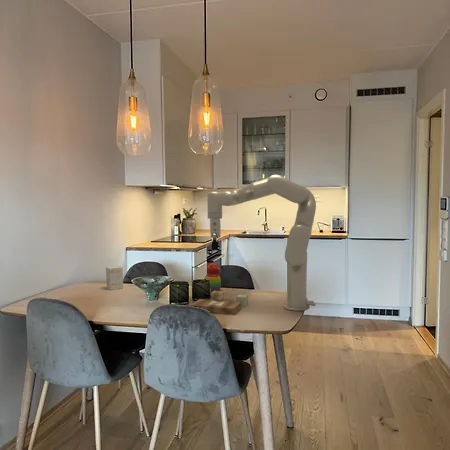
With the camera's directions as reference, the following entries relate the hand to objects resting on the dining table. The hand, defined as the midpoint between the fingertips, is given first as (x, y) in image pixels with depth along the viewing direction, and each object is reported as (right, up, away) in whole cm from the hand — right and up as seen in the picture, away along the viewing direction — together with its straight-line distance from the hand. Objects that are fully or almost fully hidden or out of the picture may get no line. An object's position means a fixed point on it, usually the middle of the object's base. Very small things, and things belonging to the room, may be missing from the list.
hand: (215, 248), depth 209 cm
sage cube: (+14, -29, -5) cm, 32 cm away
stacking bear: (-1, -27, +18) cm, 32 cm away
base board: (+1, -29, -12) cm, 31 cm away
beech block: (+1, -28, -1) cm, 28 cm away
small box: (-61, -26, +34) cm, 75 cm away
